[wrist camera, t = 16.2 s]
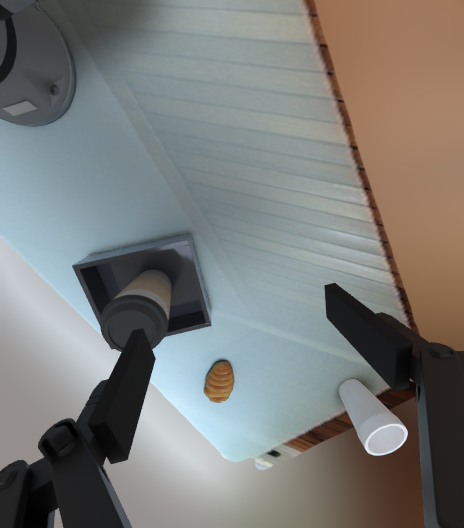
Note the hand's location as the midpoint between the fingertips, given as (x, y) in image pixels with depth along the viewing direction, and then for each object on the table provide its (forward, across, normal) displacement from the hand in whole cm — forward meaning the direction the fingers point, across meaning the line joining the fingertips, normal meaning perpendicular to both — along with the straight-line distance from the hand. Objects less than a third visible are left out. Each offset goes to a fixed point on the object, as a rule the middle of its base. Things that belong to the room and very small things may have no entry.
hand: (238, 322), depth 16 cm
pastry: (+29, -7, -33) cm, 44 cm away
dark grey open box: (+29, -14, -6) cm, 33 cm away
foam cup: (+29, +25, -47) cm, 61 cm away
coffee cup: (+28, -14, -7) cm, 32 cm away
